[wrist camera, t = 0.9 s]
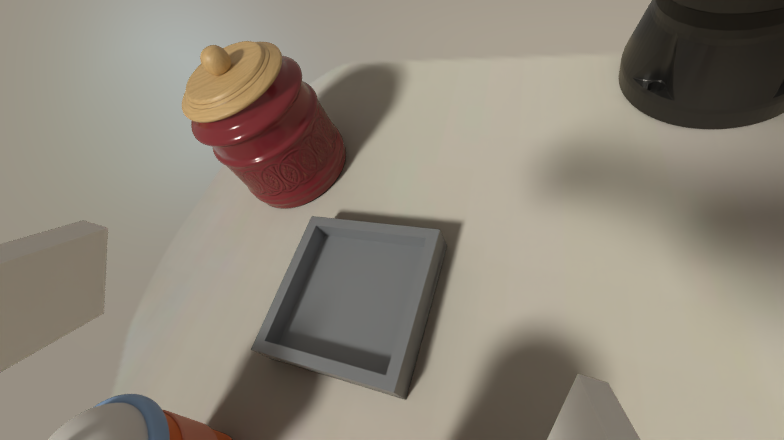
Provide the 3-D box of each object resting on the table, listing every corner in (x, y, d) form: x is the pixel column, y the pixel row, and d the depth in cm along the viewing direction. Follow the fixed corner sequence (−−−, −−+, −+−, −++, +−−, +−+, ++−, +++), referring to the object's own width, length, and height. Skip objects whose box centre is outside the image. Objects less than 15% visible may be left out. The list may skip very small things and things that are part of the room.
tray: (447, 245, 38) (439, 229, 36) (405, 399, 32) (393, 392, 29) (324, 230, 44) (311, 216, 42) (269, 358, 38) (250, 349, 35)
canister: (350, 120, 53) (277, -11, 39) (347, 198, 46) (255, 71, 32) (264, 144, 56) (169, 31, 42) (249, 221, 49) (127, 115, 35)
